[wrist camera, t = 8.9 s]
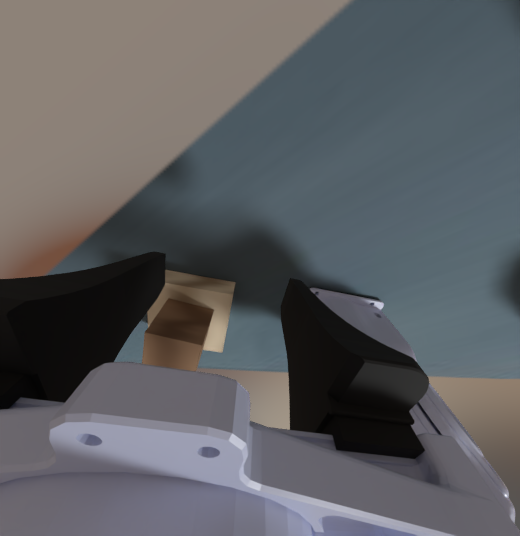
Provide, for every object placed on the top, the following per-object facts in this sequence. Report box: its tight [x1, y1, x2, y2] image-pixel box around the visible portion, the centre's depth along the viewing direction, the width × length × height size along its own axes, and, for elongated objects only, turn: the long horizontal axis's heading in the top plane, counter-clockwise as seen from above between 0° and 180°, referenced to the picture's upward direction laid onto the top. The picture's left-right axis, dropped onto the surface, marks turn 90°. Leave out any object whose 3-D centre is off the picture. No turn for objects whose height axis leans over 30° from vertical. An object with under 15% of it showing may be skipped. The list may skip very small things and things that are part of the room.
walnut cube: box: [142, 298, 214, 371], centre depth 21 cm, size 5×5×5 cm
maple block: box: [147, 270, 236, 352], centre depth 25 cm, size 9×9×3 cm
